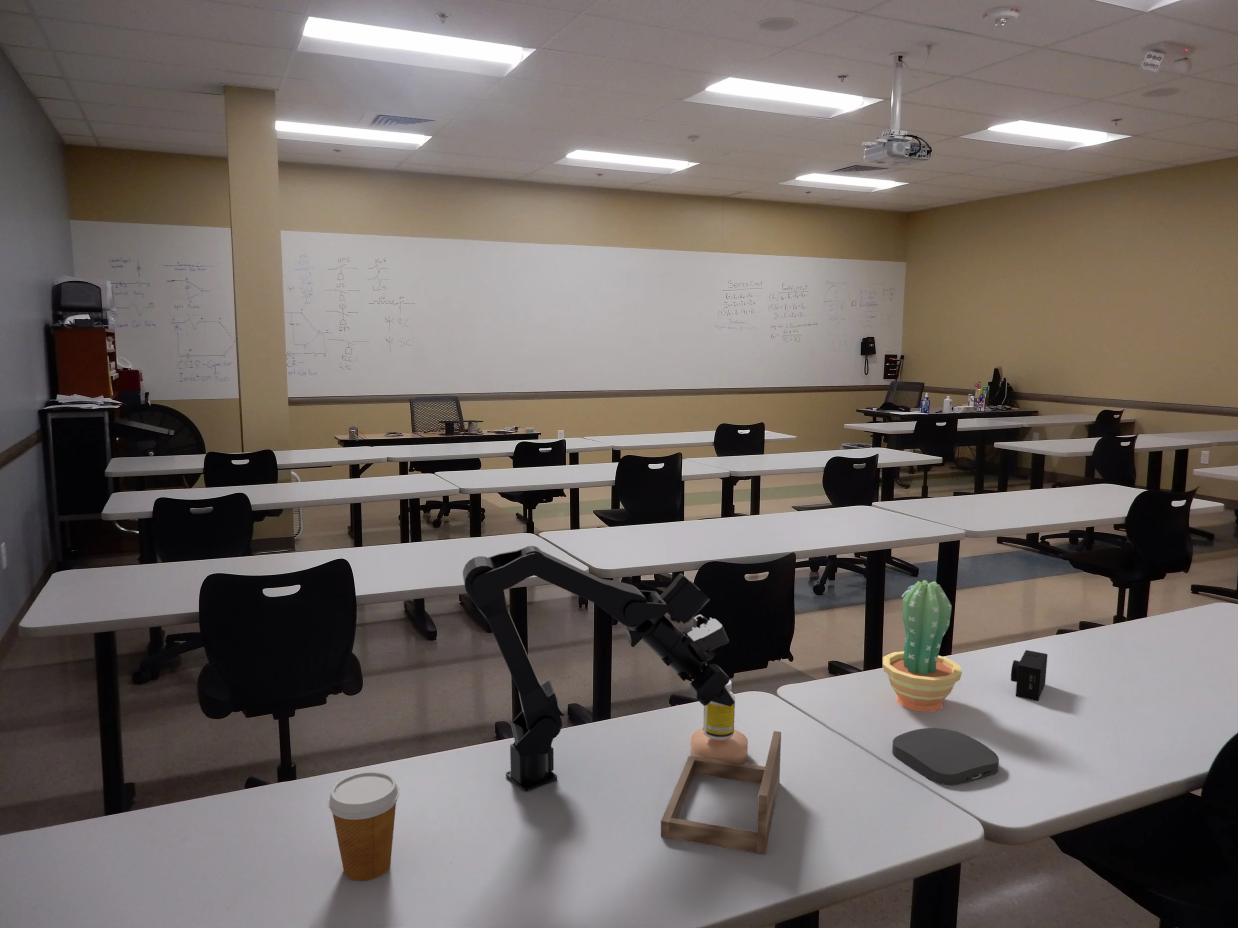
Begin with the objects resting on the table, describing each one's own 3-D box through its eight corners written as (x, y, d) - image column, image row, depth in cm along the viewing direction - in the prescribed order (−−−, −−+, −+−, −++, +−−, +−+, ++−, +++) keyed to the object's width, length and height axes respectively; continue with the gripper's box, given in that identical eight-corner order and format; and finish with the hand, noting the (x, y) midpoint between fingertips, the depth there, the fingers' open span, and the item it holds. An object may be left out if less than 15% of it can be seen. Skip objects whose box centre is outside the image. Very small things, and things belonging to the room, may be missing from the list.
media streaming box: (882, 751, 151) (883, 735, 150) (944, 736, 157) (945, 721, 156) (943, 791, 138) (944, 774, 137) (1008, 773, 143) (1009, 756, 143)
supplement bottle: (739, 738, 146) (741, 685, 145) (710, 743, 145) (712, 689, 143) (725, 725, 151) (727, 673, 150) (698, 729, 150) (699, 677, 148)
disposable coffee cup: (340, 848, 121) (336, 770, 120) (407, 844, 122) (404, 768, 120) (323, 890, 112) (318, 807, 110) (395, 887, 113) (392, 804, 111)
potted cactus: (966, 697, 173) (974, 579, 169) (951, 725, 160) (959, 599, 156) (890, 680, 181) (896, 568, 177) (870, 706, 168) (876, 586, 165)
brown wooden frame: (660, 836, 124) (661, 779, 123) (688, 769, 144) (689, 719, 142) (765, 854, 120) (767, 795, 119) (779, 782, 140) (781, 731, 138)
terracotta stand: (719, 775, 142) (719, 759, 141) (679, 753, 149) (679, 737, 149) (759, 757, 148) (759, 741, 147) (718, 736, 156) (719, 721, 155)
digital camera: (1017, 678, 183) (1019, 647, 181) (1045, 684, 180) (1047, 653, 179) (1009, 695, 174) (1011, 663, 173) (1038, 701, 171) (1040, 668, 170)
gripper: (719, 625, 135) (780, 684, 139) (683, 591, 153) (738, 645, 157) (671, 676, 134) (734, 734, 138) (641, 636, 152) (697, 688, 156)
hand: (726, 697), depth 147 cm, fingers closed on supplement bottle, 5 cm apart
